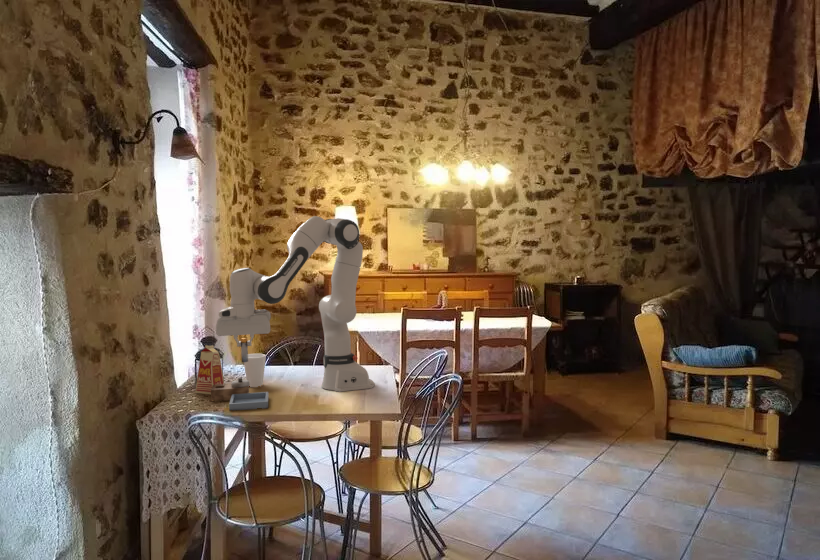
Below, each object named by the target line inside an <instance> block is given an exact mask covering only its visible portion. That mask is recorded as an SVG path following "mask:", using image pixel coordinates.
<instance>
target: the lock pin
mask: <svg viewBox="0 0 820 560" xmlns="http://www.w3.org/2000/svg"><path fill="white" fill-rule="evenodd" d="M240 341H241V346H240V354H241V363H244V362H248V354H249V348H248V347H249V346H247V341H248V338H247V337H242V338H240Z"/></svg>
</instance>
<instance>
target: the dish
mask: <svg viewBox="0 0 820 560" xmlns="http://www.w3.org/2000/svg"><path fill="white" fill-rule="evenodd" d="M269 398H270V397H269V391H261V392H249V393H241V394H232V396H231V400H229V404H228V407H229V408H228V410H229V412H230V411H231V410H232V411H243V410H258V409H257V408H262V409H269Z"/></svg>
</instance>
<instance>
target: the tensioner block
mask: <svg viewBox="0 0 820 560" xmlns="http://www.w3.org/2000/svg"><path fill="white" fill-rule="evenodd" d="M241 393H250V387H249V380H247V379H243V378H242V377H238V379H236V380H233V381H231V383H224V384H220V385H213V386H212V389H211V394H210V401H211V402H213V401H212V400H223V401H230V400H231V396H232V394H241Z"/></svg>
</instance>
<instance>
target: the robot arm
mask: <svg viewBox="0 0 820 560" xmlns="http://www.w3.org/2000/svg"><path fill="white" fill-rule="evenodd" d="M322 243H326V244H329V245H334V246H336V248H337V254H336V257H335V260H334V261H335V262H334V264H333V269H332V272H331V273H332V274H331V278H330V281H331V290H330V291H331V294H328V295H325V296H323V297H322V298H321V299H320V301H319V302H318V303H319V304H318V311H319V312H320V318H321V324H322V329H323V336H324V338H323V339H324V354H323V367H324V369H323V370H324V371H323V379H322V384H321V388H322V389H325V390H329V391H335V392H340V393H341V392H350V391H357V390H366V389H372V388H374V387H375V382H374V381H373V380H372V379H370V376H369V373H368V370H367V369H366V368H365V367H364V366H362V365H361V364H360V363H358V362H356V361H357V360H358V356H357V355H356V354H354V353H353V352H351V351H352V349H351V346H352V345H351V333H350V330H349V326H348V324H349V323H351V322H352V321H354V319H355V318H356V316H357V306H356V296H357V295H356V293H357V284H358V280H359V275H360V270H361V267H362V264H363V262H362V261H363V255H364V254H363V253H364V248H363V247H364V246H363V244H362V243H361V242H360V228H359V226H358V224H357V223H356V222H354V221H353V220H350V219H346V218H339V217H338V218H328V219H324V218H322V217H320V216H319V215H318V216H317V215H314V216H311V217H309V218H308V219H307V220H306V221H305V222H303V223H302V224H301V225H300V226H299V227H298V228H297V229H296V230H295V232H293V234H291V236H290V238H289V239H288V241H287V244H286V249H287V252H288V257H287V258H286V260H285V261H284V263H283V264H282V265H281V267H280V268H279V269H278V270H277V272H276V273H274V274H273V275H271V276H269V275H264V274H261V273H259V272H257V271H255V270H253V269H251V268H249V267H243V268H237V269H235V270H233V271H231V273H230V277H229V294H230V297H231V298H230V306H228V307H226V308H222V309H220V310H219V312H218V316H219V317H218V318H217V320H216V326H215V327H216V328H215V333H216V335H217V337H225V336H229V337H230V336H233V339H234V340H235V342H236V347H241V340H239V339H238V338H239V337H238V336H244V335H249V337H250V339H249V340H247V346H248V347H252V341H253V339H254V337H255V335H263V334H269V333H270V332H271V322H270V320H271V319H272V313H271V312H270V311H269V310H267V309H255V301H256V300H261V301H263V302H265V303H267V304H270V305H273V304H278V303H279V302H281V301H282V300H283V299H284V298H285V296H286V294H287V291H288V289H289V286H290V284H291V283H292V281H293V279H295V277H296V276H297V275H298V273H299V272H300V270H301V269H302V268H303V266H304V265H305V264H306V262H307V261H308V260H309V259H310V257H311V256H312V255H313V254H314V253H315V252H316V251H317V249H318V248H319V247H320V246H321V245H322Z"/></svg>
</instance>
